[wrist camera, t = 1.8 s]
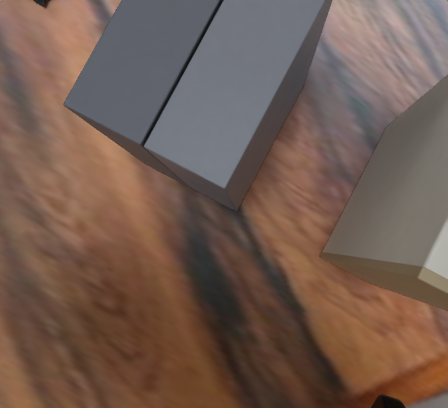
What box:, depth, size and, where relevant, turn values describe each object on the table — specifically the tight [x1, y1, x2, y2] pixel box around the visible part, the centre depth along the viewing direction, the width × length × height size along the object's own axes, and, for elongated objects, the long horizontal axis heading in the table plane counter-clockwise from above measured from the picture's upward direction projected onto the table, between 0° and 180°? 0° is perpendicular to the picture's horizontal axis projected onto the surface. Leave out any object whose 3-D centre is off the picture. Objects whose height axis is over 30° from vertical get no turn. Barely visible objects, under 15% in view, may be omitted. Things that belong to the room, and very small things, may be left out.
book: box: [319, 75, 448, 311], centre depth 15 cm, size 8×3×13 cm, turn 152°
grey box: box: [64, 0, 332, 212], centre depth 18 cm, size 8×6×10 cm
